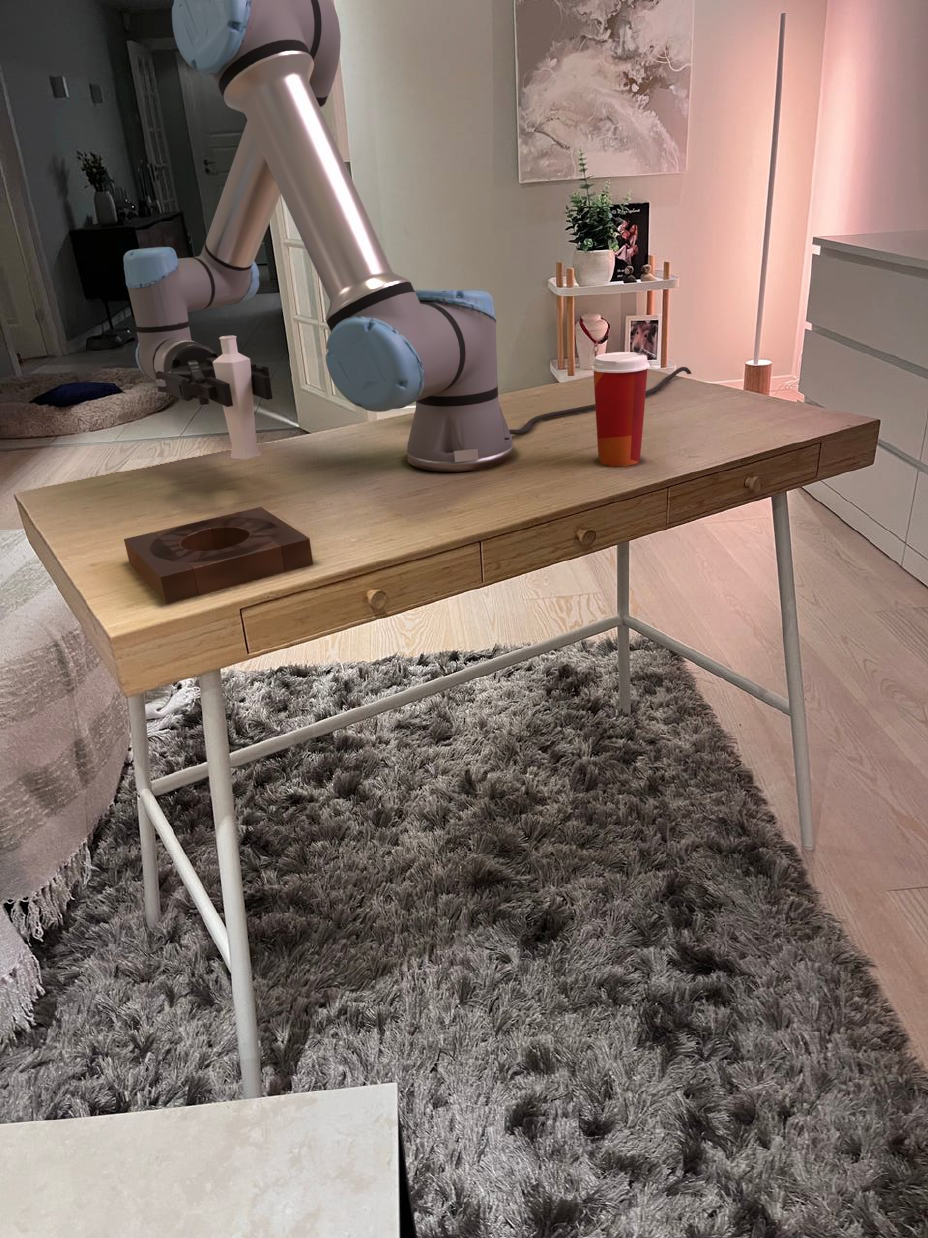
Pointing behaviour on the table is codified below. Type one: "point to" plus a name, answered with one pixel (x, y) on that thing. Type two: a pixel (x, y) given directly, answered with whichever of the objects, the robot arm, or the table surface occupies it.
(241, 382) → the perfume bottle
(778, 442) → the table surface
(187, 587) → the socket pad
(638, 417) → the paper cup
